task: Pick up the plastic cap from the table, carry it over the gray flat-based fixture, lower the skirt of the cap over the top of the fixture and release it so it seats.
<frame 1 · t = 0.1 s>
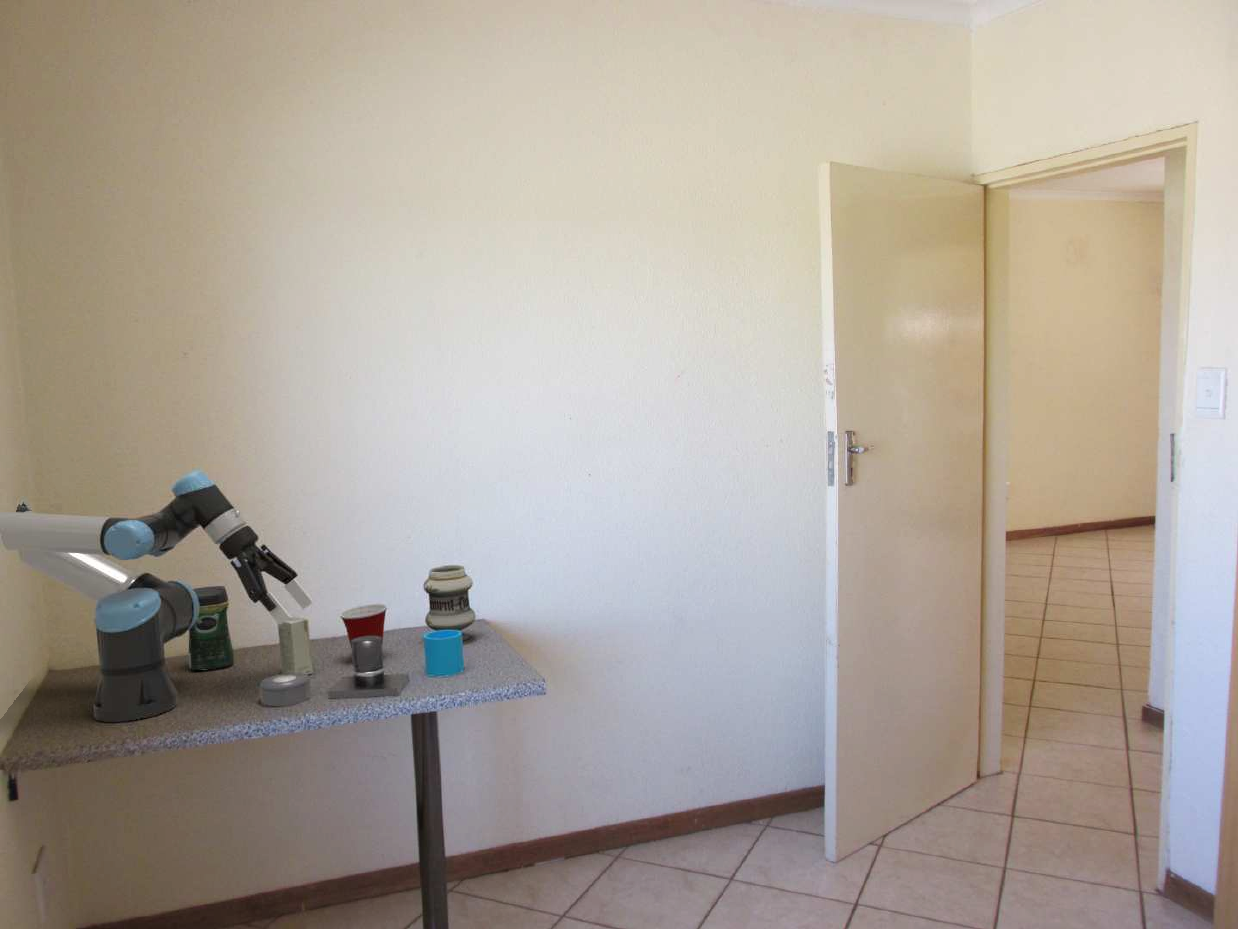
hand: (297, 613, 207), 15 cm above the countertop, tool tilted 35°, fingers open, 13 cm apart
skincare box: (297, 674, 215), on the countertop
cap: (286, 699, 197), on the countertop
mug: (445, 670, 214), on the countertop
coffee jar: (211, 667, 225), on the countertop
plastic cup: (366, 660, 224), on the countertop
gray flat-based fixture: (369, 689, 201), on the countertop
apothecary jar: (451, 641, 238), on the countertop
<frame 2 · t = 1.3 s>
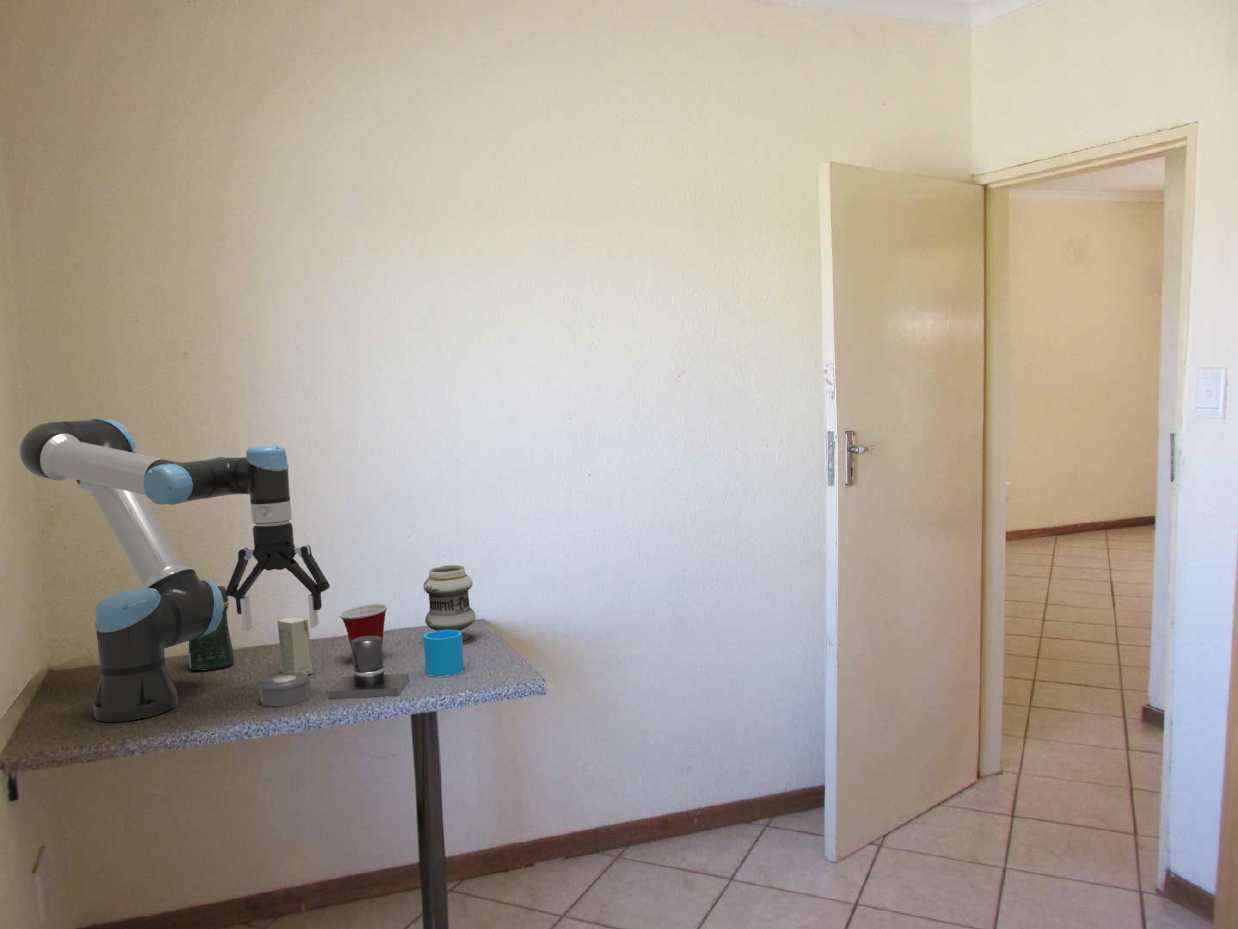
hand: (281, 628, 196), 15 cm above the countertop, tool pointing down, fingers open, 13 cm apart
nothing on the countertop moved.
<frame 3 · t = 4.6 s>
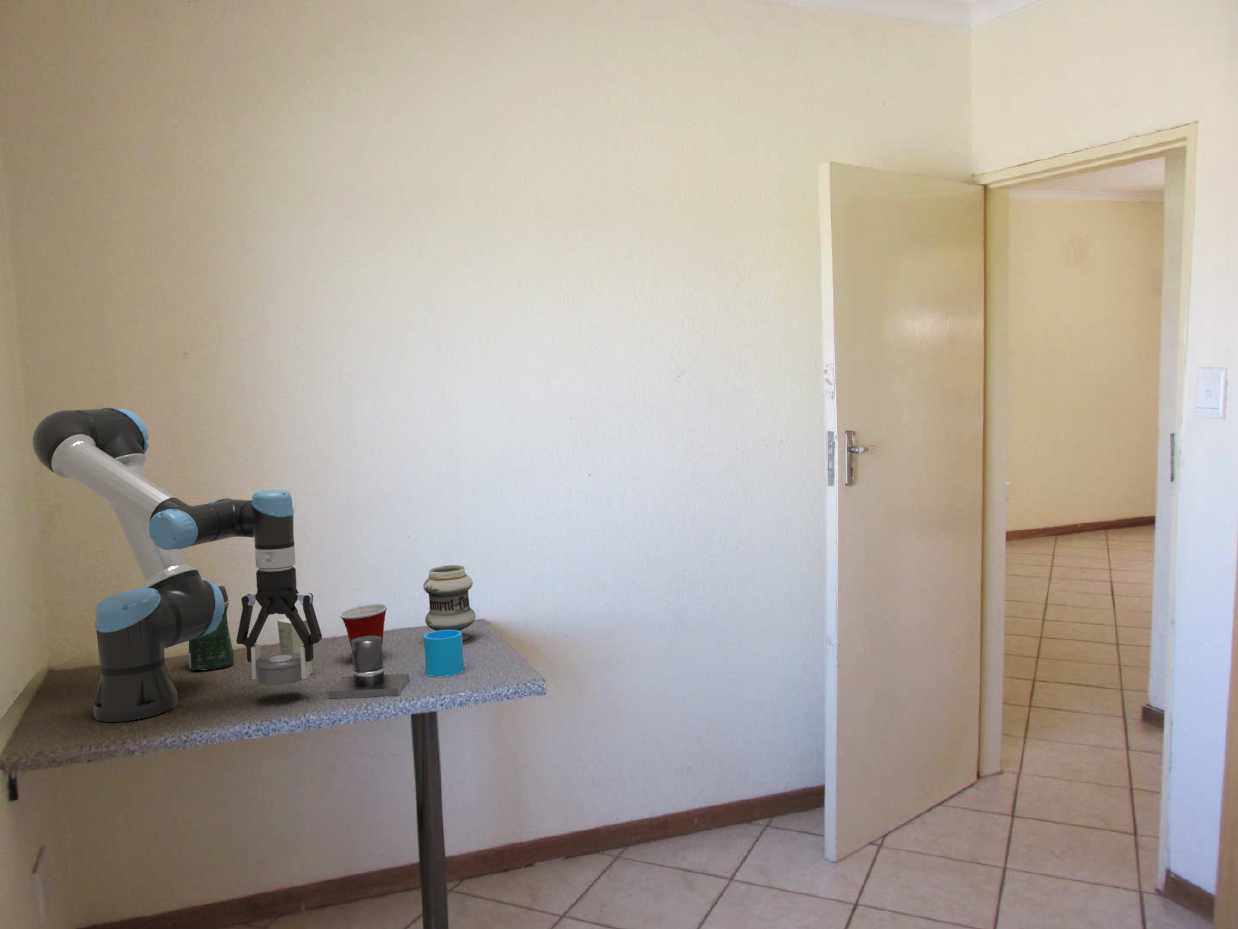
hand: (281, 677, 197), 4 cm above the countertop, tool pointing down, fingers closed on cap, 9 cm apart
cap: (281, 678, 197), point 4 cm above the countertop, touching gripper
everything else where it was.
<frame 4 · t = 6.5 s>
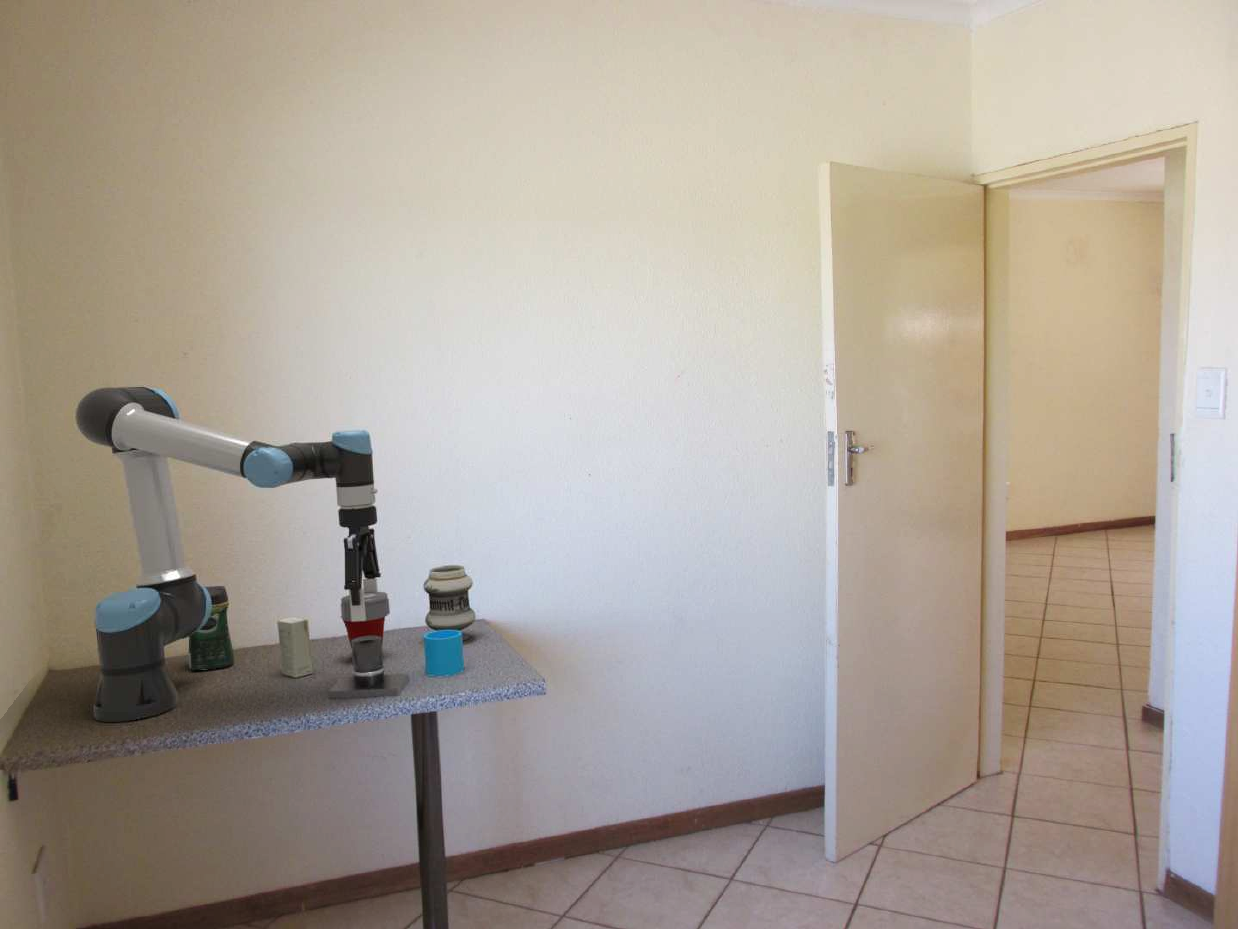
hand: (365, 615, 200), 16 cm above the countertop, tool pointing down, fingers closed on cap, 9 cm apart
cap: (365, 615, 200), point 15 cm above the countertop, touching gripper
everything else where it was.
when the fingers open (8 cm above the countertop, at t = 8.6 s): cap stays where it is, resting on gray flat-based fixture.
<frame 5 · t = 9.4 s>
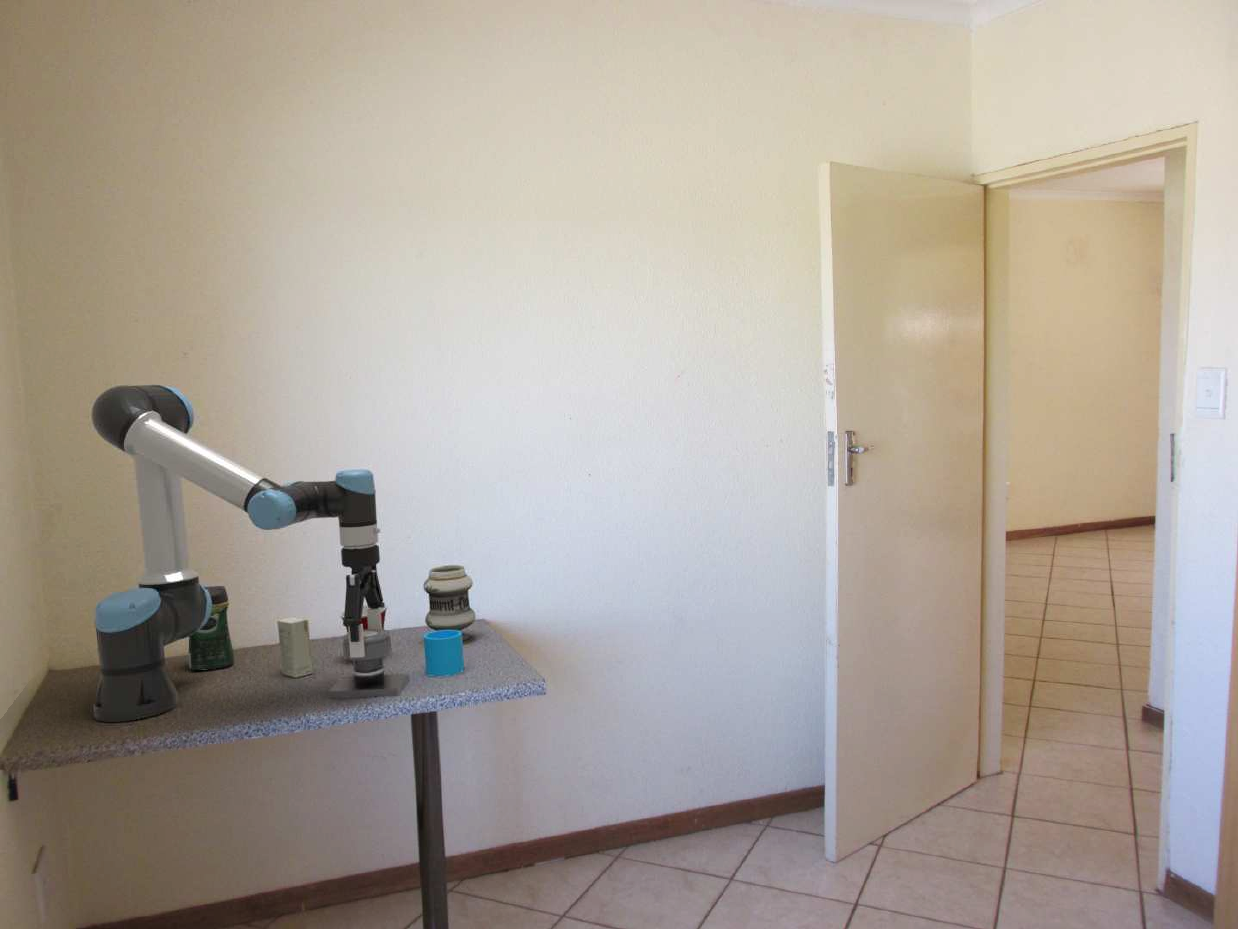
hand: (367, 648, 200), 9 cm above the countertop, tool pointing down, fingers open, 13 cm apart
cap: (367, 653, 201), point 7 cm above the countertop, touching gray flat-based fixture
everything else where it was.
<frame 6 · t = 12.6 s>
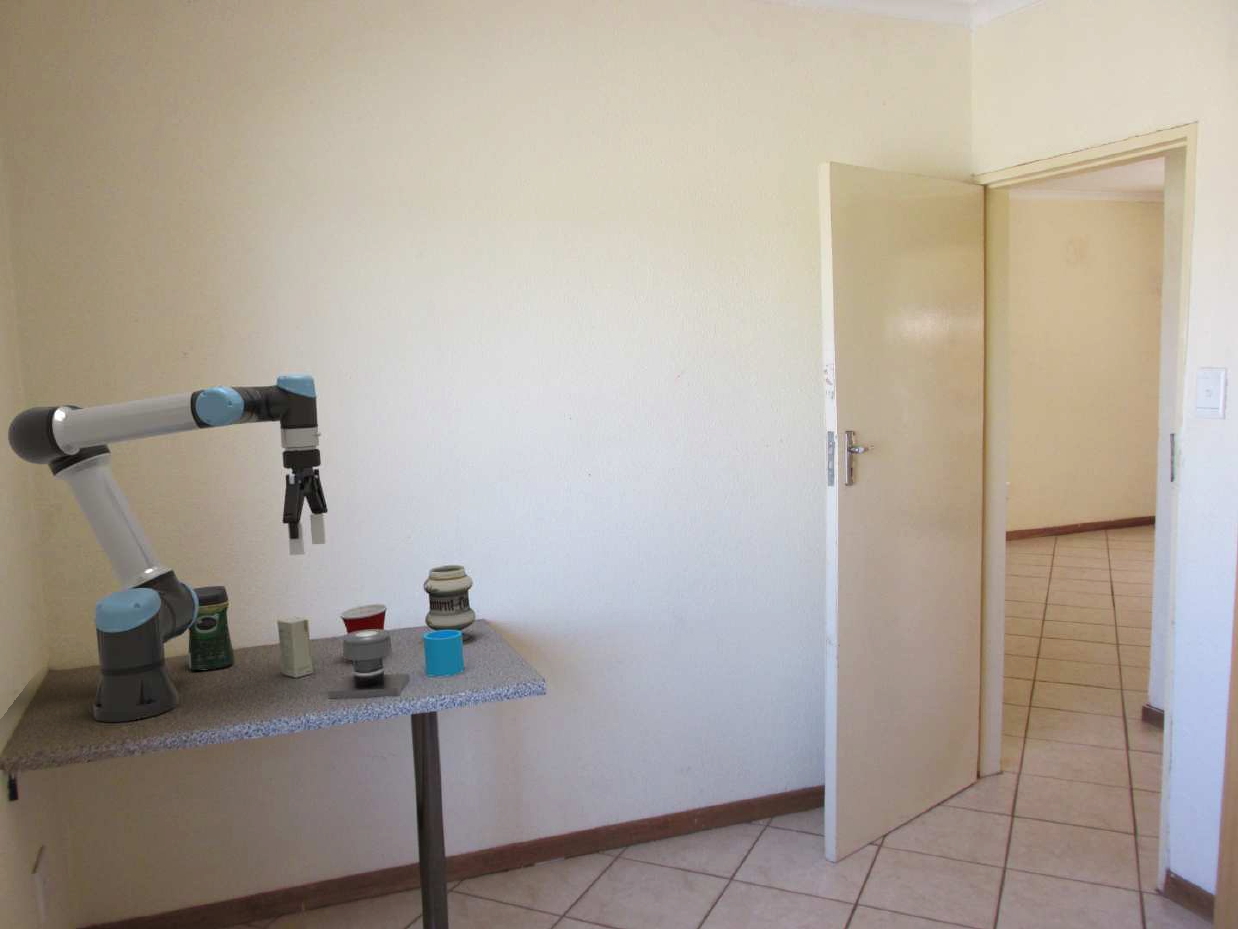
hand: (308, 549, 206), 29 cm above the countertop, tool pointing down, fingers open, 13 cm apart
nothing on the countertop moved.
at the end: cap 0.1 cm off-centre on the gray flat-based fixture, point 7.5 cm above the gray flat-based fixture's base; cap tilted 0°; the gripper is holding nothing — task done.
